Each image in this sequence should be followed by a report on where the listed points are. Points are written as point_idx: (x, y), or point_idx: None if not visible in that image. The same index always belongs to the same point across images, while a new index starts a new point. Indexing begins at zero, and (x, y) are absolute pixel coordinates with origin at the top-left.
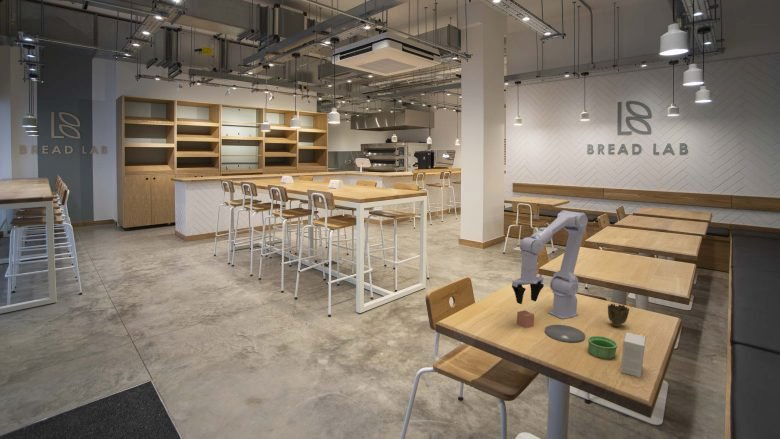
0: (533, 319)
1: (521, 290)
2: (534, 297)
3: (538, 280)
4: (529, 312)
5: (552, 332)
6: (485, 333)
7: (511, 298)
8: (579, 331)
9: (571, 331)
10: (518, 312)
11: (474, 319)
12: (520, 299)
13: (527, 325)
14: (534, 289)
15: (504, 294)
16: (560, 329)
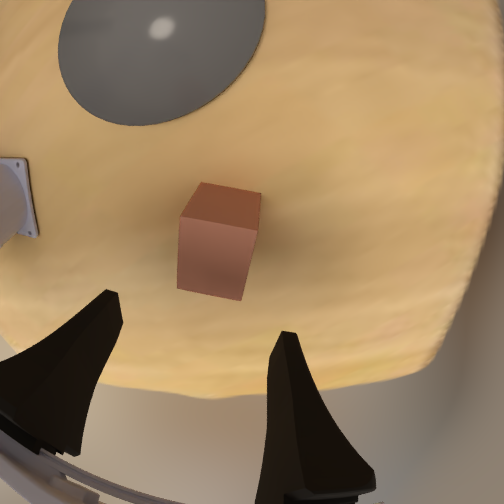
0: (194, 200)
1: (369, 469)
2: (104, 324)
3: (16, 483)
4: (179, 254)
5: (208, 50)
6: (438, 276)
7: None
8: (78, 6)
9: (106, 17)
10: (242, 293)
11: (343, 355)
12: (306, 371)
13: (250, 197)
14: (73, 392)
15: None
16: (129, 56)
